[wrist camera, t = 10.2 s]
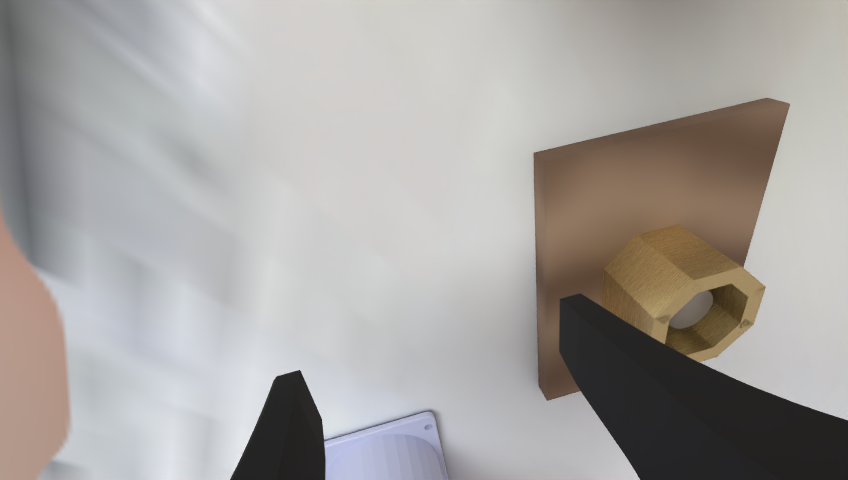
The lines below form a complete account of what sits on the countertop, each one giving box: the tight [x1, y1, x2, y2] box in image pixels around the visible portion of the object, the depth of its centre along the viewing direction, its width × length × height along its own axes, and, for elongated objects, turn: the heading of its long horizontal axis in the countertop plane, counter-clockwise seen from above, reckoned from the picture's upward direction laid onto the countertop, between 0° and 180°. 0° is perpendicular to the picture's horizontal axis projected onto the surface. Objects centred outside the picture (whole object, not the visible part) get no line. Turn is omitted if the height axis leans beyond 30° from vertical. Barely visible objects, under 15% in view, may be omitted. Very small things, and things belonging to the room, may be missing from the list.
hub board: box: [534, 98, 790, 401], centre depth 23 cm, size 16×12×4 cm
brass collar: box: [601, 224, 766, 362], centre depth 22 cm, size 6×6×4 cm
